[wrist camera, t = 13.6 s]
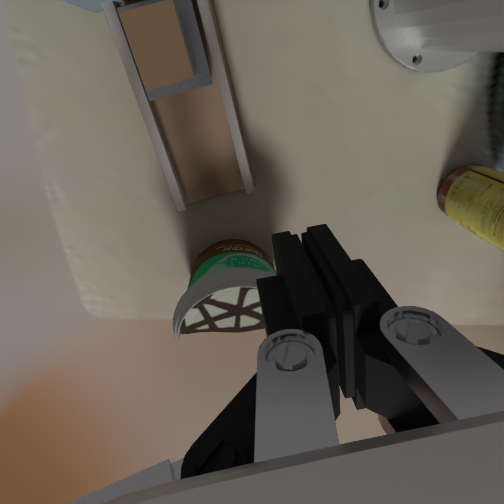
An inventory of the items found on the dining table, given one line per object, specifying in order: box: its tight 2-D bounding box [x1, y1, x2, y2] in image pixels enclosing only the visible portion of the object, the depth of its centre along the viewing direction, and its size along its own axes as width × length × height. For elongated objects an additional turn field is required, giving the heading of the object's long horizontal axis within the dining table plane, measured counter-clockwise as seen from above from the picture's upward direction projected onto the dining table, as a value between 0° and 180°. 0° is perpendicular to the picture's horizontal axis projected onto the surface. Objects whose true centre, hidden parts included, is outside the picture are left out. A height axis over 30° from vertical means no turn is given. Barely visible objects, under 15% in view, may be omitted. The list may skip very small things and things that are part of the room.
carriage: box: [117, 0, 213, 101], centre depth 25 cm, size 5×6×9 cm
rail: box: [102, 0, 256, 212], centre depth 31 cm, size 8×17×3 cm, turn 13°
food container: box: [173, 239, 277, 341], centre depth 36 cm, size 12×6×10 cm, turn 89°
